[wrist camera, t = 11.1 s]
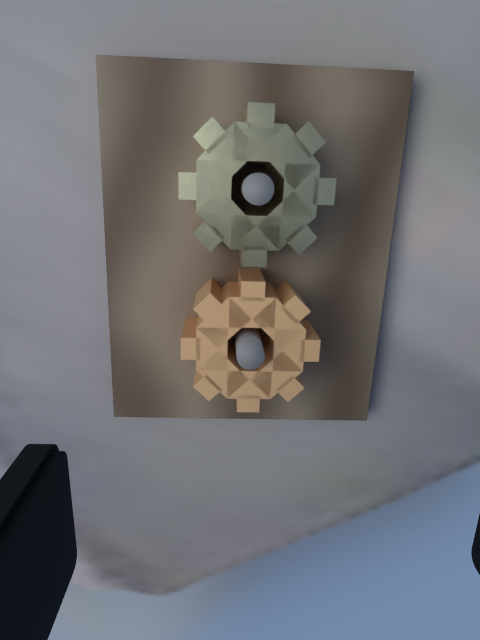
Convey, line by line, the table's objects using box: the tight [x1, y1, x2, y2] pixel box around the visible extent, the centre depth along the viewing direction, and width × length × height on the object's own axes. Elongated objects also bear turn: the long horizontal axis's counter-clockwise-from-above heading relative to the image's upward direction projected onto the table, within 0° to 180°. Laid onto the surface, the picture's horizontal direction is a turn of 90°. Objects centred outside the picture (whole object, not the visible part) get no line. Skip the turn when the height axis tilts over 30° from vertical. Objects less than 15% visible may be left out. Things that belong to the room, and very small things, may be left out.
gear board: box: [96, 55, 414, 420], centre depth 24 cm, size 16×20×6 cm
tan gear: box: [181, 268, 321, 412], centre depth 25 cm, size 7×7×4 cm
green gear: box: [179, 102, 337, 267], centre depth 22 cm, size 7×7×4 cm
